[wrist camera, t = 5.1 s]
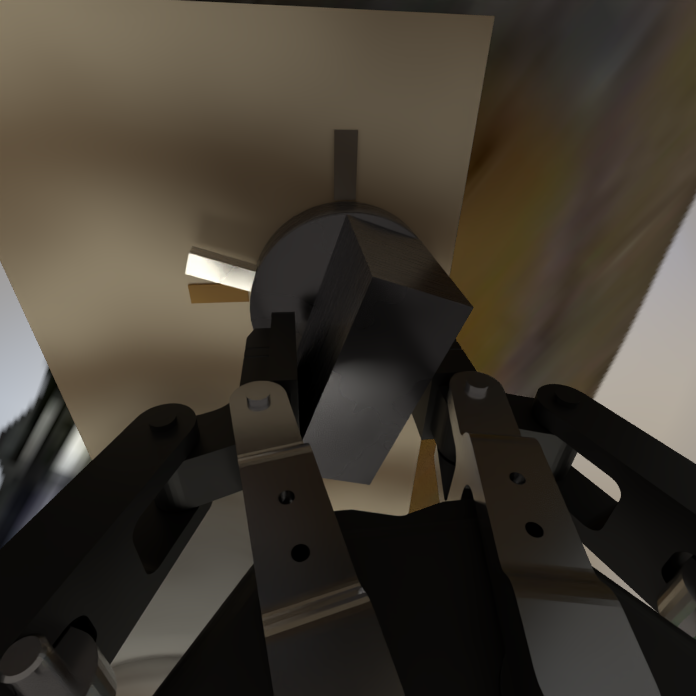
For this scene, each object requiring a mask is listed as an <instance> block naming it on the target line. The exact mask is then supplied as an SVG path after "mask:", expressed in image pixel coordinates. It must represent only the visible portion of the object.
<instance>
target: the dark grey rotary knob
mask: <svg viewBox="0 0 696 696" xmlns="http://www.w3.org/2000/svg"><path fill="white" fill-rule="evenodd" d="M185 274H187V275H191V276H195V277H198V278H202V279H206V280H209V281H213V282H217V283H220V284H224V285H228V286H232V287H235V288H239V289H243V290H246V291H250V292H251V296H250V317H251V323H252V327H253V330H254V329H255V328H271V314H272V312H295V327H296V351H297V375H298V401H299V427H300V435H301V438H302V441H303V443H309V444H310V446H311V448H312V451H313V454H314V457H315V459H316V462H317V465H318V468H319V471H320V473H321V476H322V478H325V479H332V480H339V481H346V482H352V483H359V484H366V485H370V484H371V482H372V480H373V479H374V477H375V475H376V473H377V472H378V470H379V468H380V467H381V465H382V463H383V461H384V460H385V458H386V456H387V455H388V453H389V451H390V450H391V448H392V446H393V444H394V443H395V441H396V439H397V438H398V436H399V434H400V432H401V431H402V429H403V427H404V426H405V424H406V422H407V420H408V419H409V417H410V415H411V414H412V412H413V410H414V408H415V407H416V405H417V403H418V402H419V400H420V398H421V397H422V395H423V393H424V391H425V390H426V388H427V386H428V385H429V383H430V381H431V379H432V378H433V376H434V374H435V373H436V371H437V369H438V367H439V366H440V364H441V362H442V361H443V359H444V357H445V355H446V354H447V352H448V350H449V349H450V347H451V345H452V344H453V342H454V340H455V338H456V337H457V335H458V333H459V332H460V330H461V328H462V326H463V325H464V323H465V321H466V320H467V318H468V316H469V314H470V313H471V311H472V309H473V308H474V307H473V306H472V305H471V304H470V302H469V301H468V300H467V299H466V297H465V296H464V295H463V294H462V292H461V291H460V290H459V288H458V287H457V286H456V285H455V283H454V282H453V281H452V280H451V278H450V277H449V276H448V274H447V273H446V272H445V271H444V269H443V268H442V267H441V266H440V264H439V263H438V262H437V261H436V259H435V258H434V257H433V255H432V254H431V253H430V252H429V250H428V249H427V248H426V247H425V245H424V244H423V243H422V242H421V240H420V239H419V238H418V237H417V236H416V234H415V233H414V232H413V231H412V230H411V229H410V227H409V226H408V225H407V224H405V223H404V222H403V221H402V220H401V219H399V218H398V217H396V216H395V215H393V214H392V213H390V212H388V211H386V210H384V209H381V208H379V207H377V206H373V205H370V204H366V203H359V202H333V203H326V204H322V205H319V206H315V207H312V208H310V209H308V210H305V211H303V212H301V213H299V214H298V215H296V216H294V217H292V218H291V219H290V220H288V221H287V222H286V223H284V224H283V225H282V226H281V227H280V228H279V229H278V230H277V231H276V232H275V233H274V234H273V235H272V236H271V238H270V239H269V241H268V242H267V243H266V245H265V246H264V248H263V250H262V252H261V254H260V256H259V259H258V261H257V264H253V263H250V262H246V261H243V260H239V259H236V258H232V257H229V256H226V255H222V254H219V253H215V252H212V251H208V250H205V249H201V248H198V247H195V246H192V248H191V250H190V252H189V255H188V261H187V266H186V272H185ZM251 288H252V290H251Z"/></svg>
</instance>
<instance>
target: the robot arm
mask: <svg viewBox="0 0 696 696" xmlns="http://www.w3.org/2000/svg"><path fill="white" fill-rule="evenodd" d="M412 416H413V419H414V421H415V424H416V427H417V429H418V432H419V435H420V437H421V440H424V439H435V442H436V449H435V454H434V461H435V469H436V476H437V484H438V492H439V500H440V503H438V504H435V505H432V506H430V507H427V508H424V509H421V510H418V511H415V512H413V513H410V514H407V515H403V516H395V515H388V514H381V513H373V512H366V511H359V510H352V509H350V510H339V511H334V510H333V507H332V505H331V502H330V499H329V496H328V493H327V490H326V488H325V485H324V482H323V479H322V476H321V473H320V471H319V468H318V465H317V462H316V459H315V457H314V454H313V451H312V448H311V446H310V444H309V443H303V441H302V438H301V435H300V427H299V401H298V375H297V351H296V327H295V312H272V314H271V328H255V329H254V330H253V331H252V332H251V333H250V334H249V336H248V337H247V339H246V346H245V352H244V359H243V366H242V373H241V379H240V386H239V388H237V389H236V390H235V391H234V392H233V393H232V394H231V396H230V399H229V403H228V404H227V405H225V406H223V407H221V408H219V409H217V410H214V411H211V412H207V413H203V414H200V415H196V414H195V412H194V411H193V409H191V408H190V407H188V406H186V405H183V404H178V403H169V404H162V405H158V406H155V407H152V408H150V409H148V410H146V411H144V412H143V413H141V414H140V415H139V416H138V417H137V418H136V419H135V420H134V421H132V422H131V423H130V424H129V425H128V426H127V427H126V428H125V429H124V430H123V431H122V432H121V433H120V434H119V435H118V436H117V437H116V438H115V439H114V440H113V441H112V442H111V443H110V444H109V445H108V446H107V447H106V448H105V449H104V450H103V451H102V452H100V453H99V454H98V455H97V456H96V457H95V458H94V459H93V460H92V461H91V462H90V463H89V464H88V465H87V466H86V467H85V468H84V469H83V470H82V471H81V472H80V473H79V474H78V475H77V476H76V477H75V478H74V479H73V480H72V481H71V482H69V483H68V484H67V485H66V486H65V487H64V488H63V489H62V490H61V491H60V492H59V493H58V494H57V495H56V496H55V497H54V498H53V499H52V500H51V501H50V502H49V503H48V504H47V505H46V506H45V507H44V508H43V509H42V510H41V511H40V512H39V513H37V514H36V515H35V516H34V517H33V518H32V519H31V520H30V521H29V522H28V523H27V524H26V525H25V526H24V527H23V528H22V529H21V530H20V531H19V532H18V533H17V534H16V535H15V536H14V537H13V538H12V539H11V540H10V541H9V542H8V543H7V544H5V545H4V546H3V547H2V548H1V549H0V696H116V689H117V683H116V676H115V673H114V671H113V669H112V667H111V666H110V664H111V663H112V661H113V660H114V658H115V656H116V655H117V653H118V652H119V650H120V649H121V647H122V645H123V644H124V642H125V641H126V639H127V638H128V636H129V634H130V633H131V631H132V630H133V628H134V627H135V625H136V623H137V622H138V620H139V619H140V617H141V616H142V614H143V612H144V611H145V609H146V608H147V606H148V605H149V603H150V601H151V600H152V598H153V597H154V595H155V594H156V592H157V591H158V589H159V587H160V586H161V584H162V583H163V581H164V580H165V578H166V576H167V575H168V573H169V572H170V570H171V569H172V567H173V565H174V564H175V562H176V561H177V559H178V558H179V556H180V554H181V553H182V551H183V550H184V548H185V547H186V545H187V543H188V542H189V540H190V539H191V537H192V536H193V534H194V532H195V531H196V529H197V528H198V526H199V525H200V523H201V521H202V520H203V518H204V517H205V515H206V514H207V512H208V511H209V509H210V507H211V505H212V502H213V501H214V500H217V499H220V498H223V497H225V496H228V495H231V494H234V493H236V492H239V491H242V490H243V497H244V503H245V510H246V516H247V523H248V529H249V536H250V542H251V549H252V555H253V562H254V564H253V565H252V566H251V567H250V568H249V570H248V571H247V572H246V574H245V575H244V576H243V578H242V579H241V580H240V582H239V583H238V584H237V585H236V587H235V588H234V589H233V591H232V592H231V593H230V595H229V596H228V597H227V598H226V600H225V601H224V602H223V604H222V605H221V606H220V608H219V609H218V610H217V612H216V613H215V614H214V615H213V617H212V618H211V619H210V621H209V622H208V623H207V625H206V626H205V627H204V629H203V630H202V631H201V632H200V634H199V635H198V636H197V638H196V639H195V640H194V642H193V643H192V644H191V645H190V647H189V648H188V649H187V651H186V652H185V653H184V655H183V656H182V657H181V659H180V660H179V661H178V662H177V664H176V665H175V666H174V668H173V669H172V670H171V672H170V673H169V674H168V676H167V677H166V678H165V679H164V681H163V682H162V683H161V685H160V686H159V687H158V689H157V690H156V691H155V692H154V694H153V695H152V696H696V464H695V463H693V462H692V461H690V460H689V459H687V458H685V457H684V456H682V455H681V454H679V453H677V452H676V451H674V450H673V449H671V448H669V447H668V446H666V445H665V444H663V443H661V442H660V441H658V440H657V439H655V438H654V437H652V436H650V435H649V434H647V433H646V432H644V431H642V430H641V429H639V428H638V427H636V426H635V425H633V424H631V423H630V422H628V421H626V420H625V419H623V418H621V417H620V416H619V415H617V414H615V413H614V412H612V411H611V410H609V409H608V408H606V407H604V406H603V405H601V404H600V403H598V402H596V401H595V400H593V399H592V398H590V397H588V396H587V395H585V394H584V393H582V392H580V391H578V390H576V389H574V388H571V387H568V386H565V385H559V384H549V385H544V386H542V387H540V388H539V389H538V391H537V393H536V396H535V398H530V397H523V396H517V395H512V394H507V393H505V391H504V389H503V387H502V385H501V384H500V383H499V382H498V381H497V380H496V379H494V378H493V377H491V376H489V375H486V374H484V373H480V372H477V371H476V370H475V368H474V366H473V365H472V363H471V362H470V360H469V359H468V357H467V356H466V354H465V353H464V351H463V350H461V346H460V345H459V343H458V342H456V339H455V340H454V342H453V344H452V345H451V347H450V349H449V350H448V352H447V354H446V355H445V357H444V359H443V361H442V362H441V364H440V366H439V367H438V369H437V371H436V373H435V374H434V376H433V378H432V379H431V381H430V383H429V385H428V386H427V388H426V390H425V391H424V393H423V395H422V397H421V398H420V400H419V402H418V403H417V405H416V407H415V408H414V410H413V412H412ZM577 452H578V453H579V454H581V455H582V456H583V457H585V458H586V459H587V460H589V461H590V462H591V463H593V464H594V465H595V466H597V467H598V468H599V469H601V470H602V471H603V472H605V473H606V474H607V475H609V476H610V477H611V478H612V479H613V480H615V482H616V483H617V484H618V486H619V488H620V491H621V498H620V501H619V502H617V501H615V500H614V499H613V498H611V497H610V496H609V495H608V494H607V493H605V492H604V491H603V490H601V489H600V488H599V487H598V486H596V485H595V484H594V483H592V482H591V481H590V480H589V479H588V478H586V477H585V476H584V475H582V474H581V473H580V472H579V471H577V470H576V469H575V468H574V467H572V466H571V464H572V462H573V460H574V458H575V456H576V454H577ZM582 543H583V544H584V545H585V546H586V547H587V548H588V549H589V550H591V552H593V553H594V554H595V555H596V556H597V557H598V558H599V559H600V560H601V561H602V562H603V563H605V564H606V565H607V566H608V567H609V568H610V569H611V570H612V571H613V572H614V573H616V575H618V576H619V577H620V578H621V579H622V580H623V581H624V582H625V583H626V584H627V585H629V586H630V587H631V588H632V589H633V590H634V591H635V592H636V593H637V594H638V595H639V596H640V597H641V598H643V599H644V600H645V601H646V602H647V603H648V604H649V605H650V606H651V607H652V608H653V609H654V610H653V609H652V608H650V607H649V606H648V605H646V604H645V603H643V602H642V601H640V600H639V599H638V598H636V597H635V596H633V595H632V594H630V593H629V592H628V591H626V590H625V589H623V588H622V587H621V586H619V585H618V584H616V583H615V582H614V581H612V580H611V579H609V578H608V577H606V576H605V575H603V574H602V573H601V572H599V571H598V570H597V569H595V568H594V567H592V566H591V563H590V561H589V559H588V556H587V554H586V551H585V549H584V547H583V544H582ZM655 610H656V611H657V612H658V613H657V612H656V611H655Z"/></svg>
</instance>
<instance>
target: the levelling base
mask: <svg viewBox="0 0 696 696" xmlns="http://www.w3.org/2000/svg"><path fill="white" fill-rule="evenodd" d="M494 17H495V16H484V15H464V14H443V13H423V12H403V11H383V10H363V9H343V8H323V7H302V6H282V5H262V4H242V3H222V2H202V1H181V0H0V261H1V264H2V266H3V268H4V270H5V272H6V274H7V276H8V278H9V281H10V283H11V285H12V287H13V290H14V292H15V294H16V296H17V298H18V300H19V303H20V305H21V307H22V309H23V311H24V313H25V316H26V318H27V320H28V322H29V324H30V327H31V329H32V331H33V333H34V335H35V337H36V340H37V342H38V344H39V346H40V348H41V350H42V353H43V355H44V357H45V359H46V361H47V364H48V366H49V368H50V370H51V372H52V374H53V377H54V379H55V381H56V383H57V385H58V387H59V390H60V392H61V394H62V396H63V398H64V400H65V403H66V405H67V407H68V409H69V411H70V414H71V416H72V418H73V420H74V422H75V424H76V427H77V429H78V431H79V433H80V435H81V437H82V440H83V442H84V444H85V446H86V448H87V450H88V453H89V455H90V457H91V459H92V460H93V459H94V458H95V457H96V456H97V455H98V454H99V453H100V452H102V451H103V450H104V449H105V448H106V447H107V446H108V445H109V444H110V443H111V442H112V441H113V440H114V439H115V438H116V437H117V436H118V435H119V434H120V433H121V432H122V431H123V430H124V429H125V428H126V427H127V426H128V425H129V424H130V423H131V422H132V421H134V420H135V419H136V418H137V417H138V416H139V415H140V414H141V413H143V412H144V411H146V410H148V409H150V408H152V407H155V406H158V405H162V404H169V403H178V404H183V405H186V406H188V407H190V408H191V409H193V411H194V412H195V414H196V415H200V414H203V413H207V412H211V411H214V410H217V409H219V408H221V407H223V406H225V405H227V404H228V403H229V399H230V396H231V394H232V393H233V392H234V391H235V390H236V389H237V388H239V386H240V379H241V373H242V366H243V359H244V352H245V346H246V339H247V337H248V336H249V334H250V333H251V332H252V331H253V327H252V323H251V317H250V296H251V292H250V291H246V290H243V289H239V288H235V287H232V286H228V285H224V284H220V283H217V282H213V281H209V280H206V279H202V278H198V277H195V276H191V275H187V274H185V272H186V266H187V261H188V255H189V252H190V250H191V248H192V246H195V247H198V248H201V249H205V250H208V251H212V252H215V253H219V254H222V255H226V256H229V257H232V258H236V259H239V260H243V261H246V262H250V263H253V264H257V261H258V259H259V256H260V254H261V252H262V250H263V248H264V246H265V245H266V243H267V242H268V241H269V239H270V238H271V236H272V235H273V234H274V233H275V232H276V231H277V230H278V229H279V228H280V227H281V226H282V225H283V224H284V223H286V222H287V221H288V220H290V219H291V218H292V217H294V216H296V215H298V214H299V213H301V212H303V211H305V210H308V209H310V208H312V207H315V206H319V205H322V204H326V203H333V202H359V203H366V204H370V205H373V206H377V207H379V208H381V209H384V210H386V211H388V212H390V213H392V214H393V215H395V216H396V217H398V218H399V219H401V220H402V221H403V222H404V223H405V224H407V225H408V226H409V227H410V229H411V230H412V231H413V232H414V233H415V234H416V236H417V237H418V238H419V239H420V240H421V242H422V243H423V244H424V245H425V247H426V248H427V249H428V250H429V252H430V253H431V254H432V255H433V257H434V258H435V259H436V261H437V262H438V263H439V264H440V266H441V267H442V268H443V269H444V271H445V272H446V273H447V274H448V276H450V270H451V265H452V259H453V253H454V247H455V242H456V236H457V230H458V224H459V219H460V213H461V207H462V201H463V196H464V190H465V184H466V178H467V173H468V167H469V161H470V155H471V150H472V144H473V138H474V132H475V127H476V121H477V115H478V109H479V104H480V98H481V92H482V86H483V81H484V75H485V69H486V63H487V58H488V52H489V46H490V40H491V35H492V29H493V23H494ZM251 290H252V288H251ZM420 443H421V437H420V435H419V432H418V429H417V427H416V424H415V421H414V419H413V416H412V414H411V415H410V417H409V419H408V420H407V422H406V424H405V426H404V427H403V429H402V431H401V432H400V434H399V436H398V438H397V439H396V441H395V443H394V444H393V446H392V448H391V450H390V451H389V453H388V455H387V456H386V458H385V460H384V461H383V463H382V465H381V467H380V468H379V470H378V472H377V473H376V475H375V477H374V479H373V480H372V482H371V484H370V485H366V484H359V483H352V482H346V481H339V480H332V479H325V478H322V479H323V482H324V485H325V488H326V490H327V493H328V496H329V499H330V502H331V505H332V507H333V510H334V511H339V510H350V509H352V510H359V511H366V512H373V513H381V514H388V515H395V516H403V515H407V514H408V512H409V506H410V500H411V495H412V489H413V483H414V477H415V472H416V466H417V460H418V454H419V449H420ZM253 564H254V562H253V555H252V549H251V542H250V536H249V529H248V523H247V516H246V510H245V503H244V497H243V490H242V491H239V492H236V493H234V494H231V495H228V496H225V497H223V498H220V499H217V500H214V501H213V502H212V505H211V507H210V509H209V511H208V512H207V514H206V515H205V517H204V518H203V520H202V521H201V523H200V525H199V526H198V528H197V529H196V531H195V532H194V534H193V536H192V537H191V539H190V540H189V542H188V543H187V545H186V547H185V548H184V550H183V551H182V553H181V554H180V556H179V558H178V559H177V561H176V562H175V564H174V565H173V567H172V569H171V570H170V572H169V573H168V575H167V576H166V578H165V580H164V581H163V583H162V584H161V586H160V587H159V589H158V591H157V592H156V594H155V595H154V597H153V598H152V600H151V601H150V603H149V605H148V606H147V608H146V609H145V611H144V612H143V614H142V616H141V617H140V619H139V620H138V622H137V623H136V625H135V627H134V628H133V630H132V631H131V633H130V634H129V636H128V638H127V639H126V641H125V642H124V644H123V645H122V647H121V649H120V650H119V652H118V653H117V655H116V656H115V658H114V660H113V661H112V663H111V664H110V666H111V667H112V669H113V671H114V673H115V676H116V683H117V689H116V696H152V695H153V694H154V692H155V691H156V690H157V689H158V687H159V686H160V685H161V683H162V682H163V681H164V679H165V678H166V677H167V676H168V674H169V673H170V672H171V670H172V669H173V668H174V666H175V665H176V664H177V662H178V661H179V660H180V659H181V657H182V656H183V655H184V653H185V652H186V651H187V649H188V648H189V647H190V645H191V644H192V643H193V642H194V640H195V639H196V638H197V636H198V635H199V634H200V632H201V631H202V630H203V629H204V627H205V626H206V625H207V623H208V622H209V621H210V619H211V618H212V617H213V615H214V614H215V613H216V612H217V610H218V609H219V608H220V606H221V605H222V604H223V602H224V601H225V600H226V598H227V597H228V596H229V595H230V593H231V592H232V591H233V589H234V588H235V587H236V585H237V584H238V583H239V582H240V580H241V579H242V578H243V576H244V575H245V574H246V572H247V571H248V570H249V568H250V567H251V566H252V565H253Z"/></svg>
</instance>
